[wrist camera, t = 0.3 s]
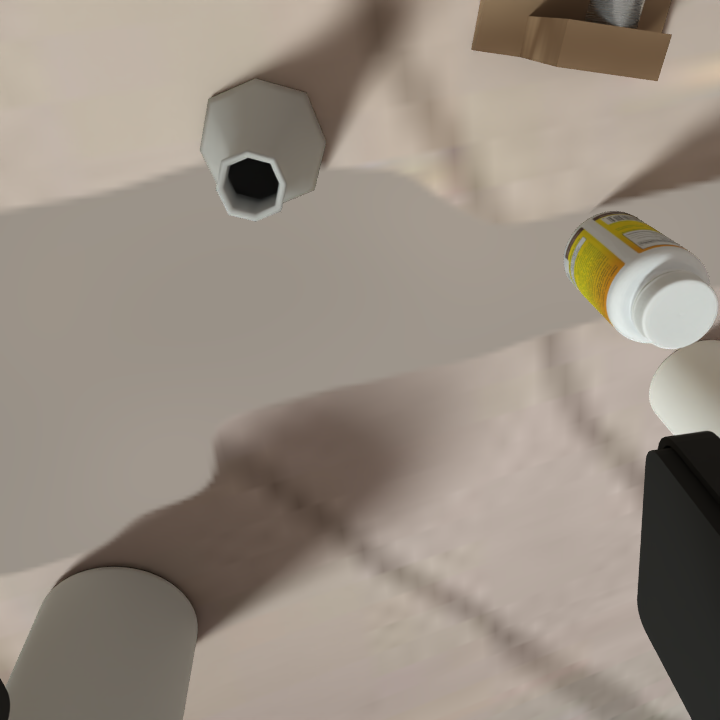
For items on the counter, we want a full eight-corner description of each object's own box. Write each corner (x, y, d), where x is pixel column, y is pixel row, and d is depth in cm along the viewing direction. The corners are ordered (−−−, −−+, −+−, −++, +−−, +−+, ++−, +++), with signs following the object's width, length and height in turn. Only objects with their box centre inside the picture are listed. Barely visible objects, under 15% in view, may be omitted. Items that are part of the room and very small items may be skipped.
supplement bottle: (582, 306, 46) (650, 382, 37) (546, 240, 43) (609, 303, 34) (659, 260, 44) (749, 327, 35) (626, 190, 42) (714, 242, 33)
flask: (190, 81, 37) (154, 106, 29) (321, 73, 38) (326, 95, 29) (210, 211, 41) (184, 269, 32) (330, 203, 41) (337, 258, 32)
